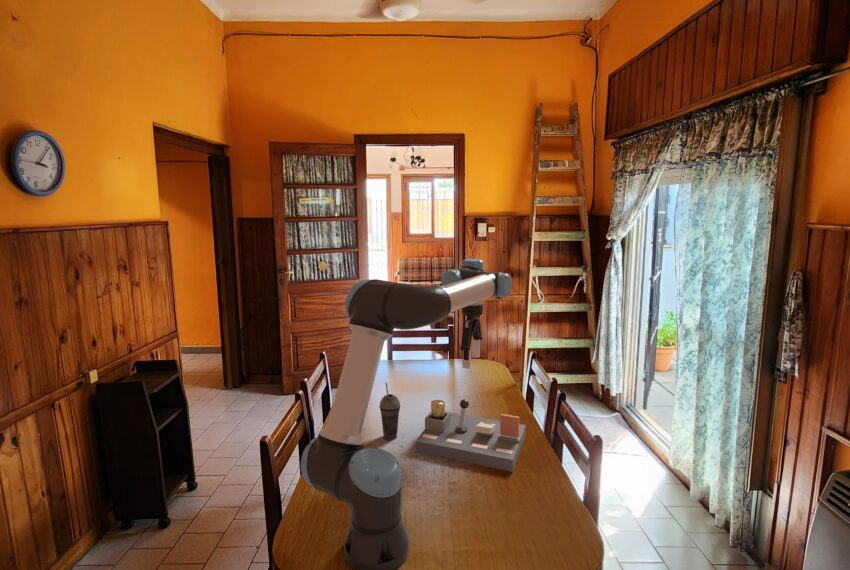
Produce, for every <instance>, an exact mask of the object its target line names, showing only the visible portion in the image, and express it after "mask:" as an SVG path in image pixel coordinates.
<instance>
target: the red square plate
mask: <svg viewBox="0 0 850 570" xmlns="http://www.w3.org/2000/svg"><path fill="white" fill-rule="evenodd" d="M499 421H500V435H504V436H509V437H515V438H518V437H519V424H520V416H518V415H510V414H507V413H506V414H505V413H501V414H500V420H499Z"/></svg>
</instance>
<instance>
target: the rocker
mask: <svg viewBox="0 0 850 570" xmlns="http://www.w3.org/2000/svg"><path fill="white" fill-rule="evenodd" d="M494 431H495V424H491V423H485V422H480V423H479V424H478V425H476V432H480V433H485V434H492V433H493V432H494Z"/></svg>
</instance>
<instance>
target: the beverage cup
mask: <svg viewBox="0 0 850 570" xmlns="http://www.w3.org/2000/svg"><path fill="white" fill-rule="evenodd" d="M388 387H389V386H388V382H385V388H386V394H385V395H384V396H383V397H382V398H381V400H380V402H379V407H378V408H379V411H380V415H381V416H380V417H381V423H382V424H381V425H382V434H383V438H384V440H385V441H394V440H396V439H397V437H398V430H399V429H398V428H399V427H398V426H399V418H400V417H399V414H400V410H401V402H400V400H399V398H398V396H396V395H394V394H391V393H389V389H388Z"/></svg>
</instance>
